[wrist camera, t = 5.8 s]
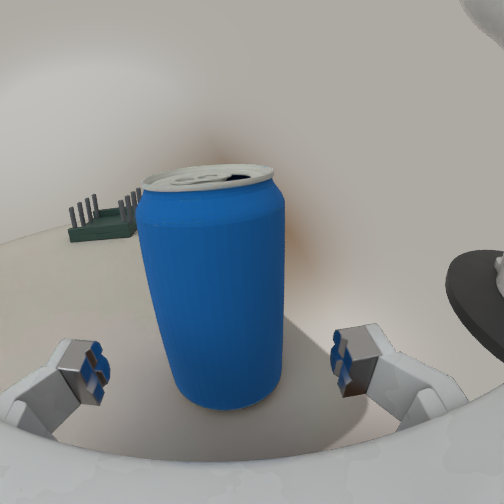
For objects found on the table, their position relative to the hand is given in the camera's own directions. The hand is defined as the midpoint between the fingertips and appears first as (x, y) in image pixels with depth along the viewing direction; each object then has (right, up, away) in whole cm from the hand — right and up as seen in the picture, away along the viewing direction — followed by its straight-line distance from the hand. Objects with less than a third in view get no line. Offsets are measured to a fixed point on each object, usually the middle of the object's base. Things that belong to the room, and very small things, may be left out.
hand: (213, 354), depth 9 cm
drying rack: (-23, +7, +36) cm, 43 cm away
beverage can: (0, -4, +8) cm, 9 cm away
